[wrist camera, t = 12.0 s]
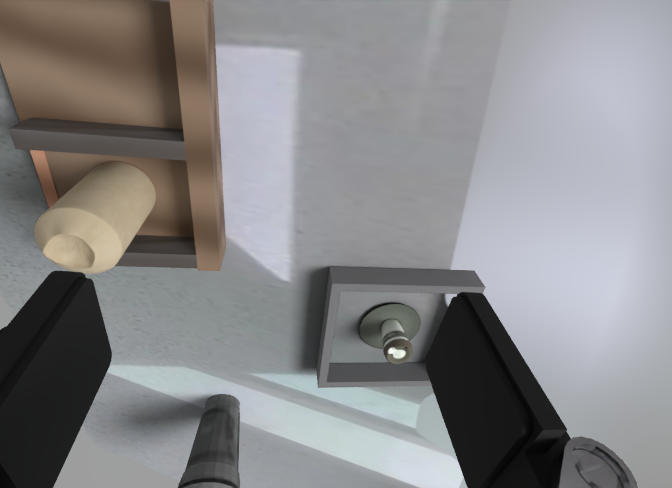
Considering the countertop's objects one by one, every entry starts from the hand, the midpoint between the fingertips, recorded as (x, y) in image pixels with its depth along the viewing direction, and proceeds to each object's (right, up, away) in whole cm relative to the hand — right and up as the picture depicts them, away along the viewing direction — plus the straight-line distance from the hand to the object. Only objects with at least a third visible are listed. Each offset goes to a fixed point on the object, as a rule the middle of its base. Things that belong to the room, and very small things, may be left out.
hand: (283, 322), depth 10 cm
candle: (-17, +7, +23) cm, 30 cm away
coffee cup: (+8, -8, +37) cm, 39 cm away
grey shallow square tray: (+8, -8, +37) cm, 39 cm away
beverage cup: (-14, -20, +43) cm, 50 cm away
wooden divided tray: (-16, +12, +22) cm, 29 cm away
